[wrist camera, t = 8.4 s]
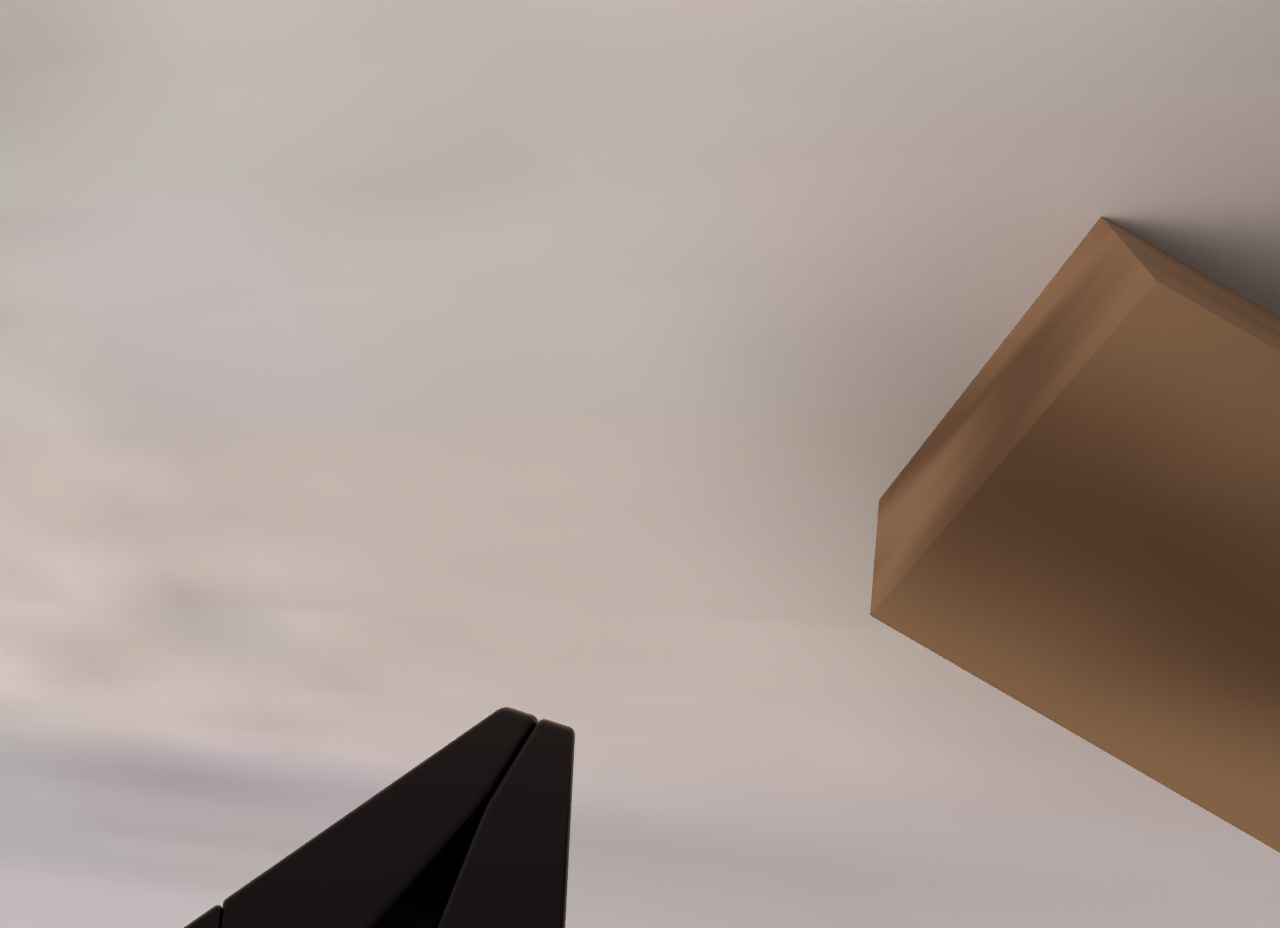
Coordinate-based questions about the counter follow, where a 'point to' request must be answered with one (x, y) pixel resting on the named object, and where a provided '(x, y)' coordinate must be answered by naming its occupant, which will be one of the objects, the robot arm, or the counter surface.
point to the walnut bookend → (1113, 525)
